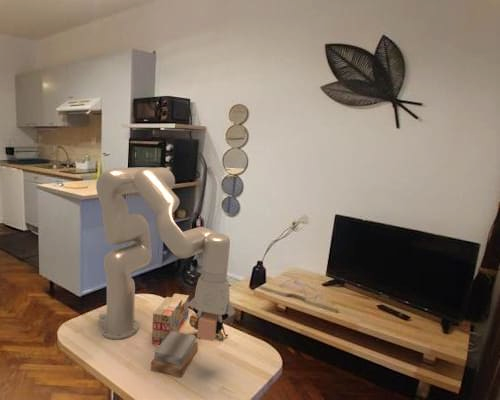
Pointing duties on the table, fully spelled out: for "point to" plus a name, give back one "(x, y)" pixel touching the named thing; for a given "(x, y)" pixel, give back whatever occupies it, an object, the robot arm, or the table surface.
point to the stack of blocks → (169, 317)
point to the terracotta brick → (207, 326)
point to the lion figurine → (193, 323)
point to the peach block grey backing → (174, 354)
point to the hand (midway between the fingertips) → (209, 328)
